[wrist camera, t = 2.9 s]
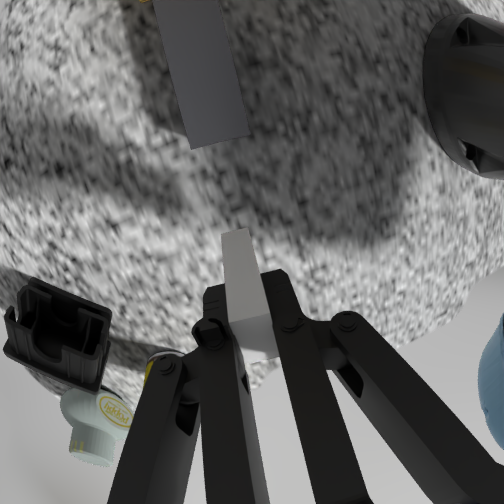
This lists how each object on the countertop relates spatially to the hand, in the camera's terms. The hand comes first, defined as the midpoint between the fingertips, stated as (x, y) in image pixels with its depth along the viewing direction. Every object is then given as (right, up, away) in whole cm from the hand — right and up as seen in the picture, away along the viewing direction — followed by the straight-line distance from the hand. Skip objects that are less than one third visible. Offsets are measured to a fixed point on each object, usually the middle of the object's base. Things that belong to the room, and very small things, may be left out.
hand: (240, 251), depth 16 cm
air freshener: (-20, -20, +16) cm, 32 cm away
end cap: (-17, -6, +7) cm, 20 cm away
